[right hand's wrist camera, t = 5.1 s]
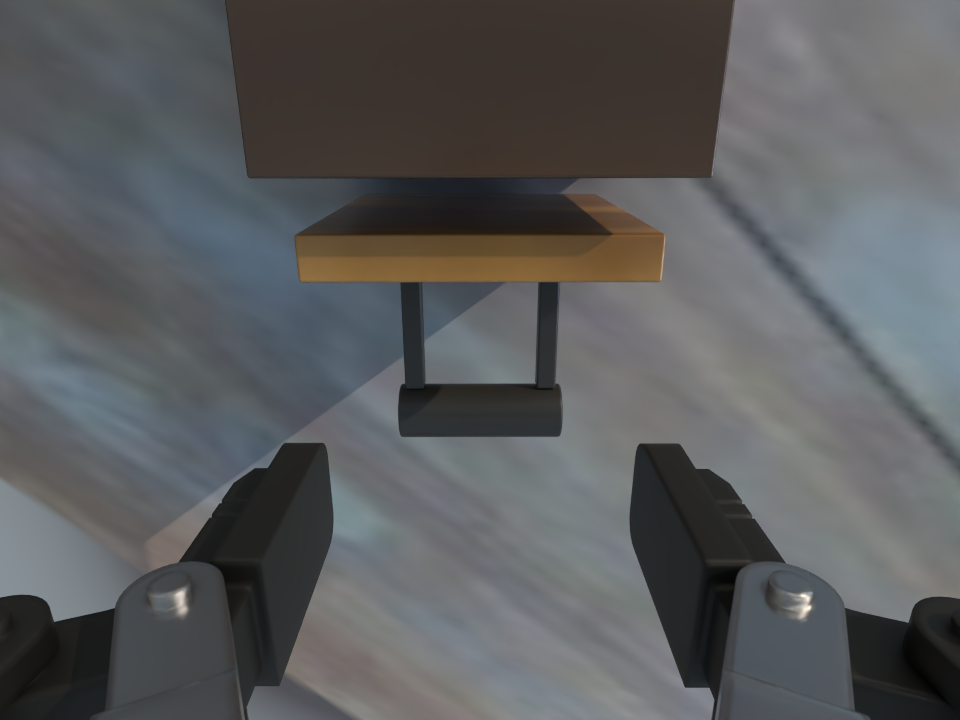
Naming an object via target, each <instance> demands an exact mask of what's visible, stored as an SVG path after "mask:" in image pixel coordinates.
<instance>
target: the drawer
mask: <svg viewBox="0 0 960 720" xmlns="http://www.w3.org/2000/svg"><path fill="white" fill-rule="evenodd" d="M294 238H295V247H296V257H297V266H298V276H299V281H300V282H401V302H402V323H403V344H404V365H405V384H402V385H401V387H400V392H399V403H398V421H399V431H400V434H401V436H402V437H558V436H560V434H561V429H562V394H561V388H560V385H559V384H555V378H556V356H557V334H558V312H559V289H560V282H660V281H661V279H662V271H663V261H664V252H665V242H666V235H665V234H663V233H662V232H660V231H658V230H656V229H655V228H653V227H651V226H650V225H648V224H646V223H644V222H643V221H641V220H639V219H637V218H636V217H634V216H632V215H631V214H629V213H627V212H625V211H624V210H622V209H620V208H618V207H617V206H615V205H613V204H611V203H610V202H608V201H606V200H605V199H603V198H601V197H599V196H598V195H596V194H517V195H363V196H361V197H360V198H358V199H356V200H355V201H353V202H351V203H349V204H348V205H346V206H344V207H343V208H341V209H339V210H337V211H336V212H334V213H332V214H330V215H329V216H327V217H325V218H324V219H322V220H320V221H318V222H317V223H315V224H313V225H312V226H310V227H308V228H306V229H305V230H303V231H301V232H299V233H298V234H296V235H295V237H294ZM422 282H538V313H537V343H536V374H535V382H536V384H425V352H424V324H423V295H422Z"/></svg>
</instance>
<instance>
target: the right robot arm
mask: <svg viewBox="0 0 960 720" xmlns="http://www.w3.org/2000/svg"><path fill="white" fill-rule="evenodd" d="M332 533H333V505H332V495H331V484H330V474H329V464H328V454H327V449H326V446H325V444H324V443H284V444H283V445H282V446H281V448H280V450H279V451H278V453H277V454H276V456H275V458H274V459H273V461H272V462H271V464H270V466H269V467H268V468H255V469H253V470H252V471H250V472H249V473H248V474H246V475H245V476H243V477H242V478H240V479H239V480H237V481H236V482H235V483H233V485H232V486H231V488H230V489H229V491H228V492H227V494H226V495H225V496H224V498H223V499H222V504H219V505H218V506H217V508H216V509H215V511H214V512H213V514H212V518H209V519H208V521H207V522H206V524H205V525H204V527H203V528H202V529H201V531H200V532H199V534H198V535H197V537H196V538H195V539H194V541H193V542H192V544H191V545H190V547H189V548H188V550H187V551H186V552H185V554H184V555H183V557H182V558H181V560H180V561H179V562H178V563H175V564H170V565H167V566H164V567H161V568H158V569H156V570H153V571H151V572H149V573H147V574H145V575H144V576H142V577H140V578H139V579H137V580H136V581H135V582H133V583H132V584H131V585H130V586H129V587H128V588H127V589H126V590H125V591H124V592H123V593H122V594H121V596H120V597H119V599H118V601H117V603H116V606H115V608H114V609H110V610H107V611H102V612H98V613H93V614H88V615H84V616H79V617H75V618H70V619H66V620H61V621H57V622H54V620H53V617H52V614H51V611H50V607H49V605H48V604H47V602H46V601H45V600H43V599H42V598H39V597H36V596H32V595H13V596H7V597H1V598H0V720H249V718H248V712H247V705H248V702H249V700H250V697H251V695H252V692H253V690H254V687H255V686H279V685H280V683H281V680H282V677H283V674H284V672H285V669H286V666H287V663H288V661H289V658H290V655H291V652H292V649H293V647H294V644H295V641H296V638H297V636H298V633H299V630H300V627H301V624H302V622H303V619H304V616H305V613H306V611H307V608H308V605H309V602H310V599H311V597H312V594H313V591H314V588H315V586H316V583H317V580H318V577H319V575H320V572H321V569H322V566H323V563H324V561H325V558H326V555H327V552H328V550H329V547H330V543H331V539H332ZM630 533H631V539H632V544H633V547H634V550H635V553H636V556H637V558H638V561H639V564H640V566H641V569H642V572H643V575H644V577H645V580H646V583H647V585H648V588H649V591H650V594H651V596H652V599H653V602H654V605H655V607H656V610H657V613H658V615H659V618H660V621H661V624H662V626H663V629H664V632H665V634H666V637H667V640H668V643H669V645H670V648H671V651H672V654H673V656H674V659H675V662H676V664H677V667H678V670H679V673H680V675H681V678H682V681H683V684H684V686H685V688H710V690H711V692H712V695H713V697H714V700H715V701H714V707H713V712H712V718H711V720H960V599H956V598H950V597H930V598H925V599H923V600H920V601H919V602H918V603H916V604H915V606H914V608H913V610H912V613H911V617H910V620H909V623H907V622H902V621H898V620H893V619H888V618H884V617H879V616H875V615H870V614H866V613H861V612H857V611H854V610H850V609H847V608H845V606H844V603H843V601H842V599H841V597H840V596H839V594H838V593H837V592H836V591H835V590H834V589H833V588H832V587H831V586H830V585H829V584H828V583H827V582H825V581H824V580H823V579H821V578H820V577H818V576H816V575H815V574H813V573H811V572H809V571H807V570H804V569H802V568H799V567H796V566H793V565H790V564H786V563H785V561H784V560H783V559H782V557H781V556H780V554H779V553H778V551H777V550H776V549H775V547H774V546H773V544H772V543H771V541H770V540H769V539H768V537H767V536H766V534H765V533H764V532H763V530H762V529H761V527H760V526H759V524H758V523H757V522H756V520H755V519H752V515H751V513H750V512H749V510H748V509H747V507H746V506H745V505H744V504H742V500H741V499H740V498H739V496H738V495H737V493H736V492H735V490H734V489H733V488H732V486H731V485H730V484H729V483H728V482H727V481H725V480H724V479H722V478H721V477H719V476H718V475H716V474H715V473H713V472H712V471H711V470H709V469H696V468H695V467H694V465H693V464H692V462H691V461H690V459H689V457H688V456H687V454H686V453H685V451H684V450H683V448H682V447H681V445H680V444H639V445H638V447H637V450H636V456H635V466H634V476H633V486H632V496H631V506H630Z"/></svg>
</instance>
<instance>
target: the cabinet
mask: <svg viewBox="0 0 960 720" xmlns="http://www.w3.org/2000/svg"><path fill="white" fill-rule="evenodd" d="M225 3H226V11H227V19H228V27H229V35H230V42H231V50H232V58H233V66H234V74H235V82H236V89H237V97H238V105H239V113H240V121H241V129H242V136H243V144H244V152H245V160H246V168H247V176H248V177H249V178H711V177H712V176H713V170H714V162H715V154H716V146H717V138H718V130H719V122H720V114H721V106H722V98H723V90H724V82H725V74H726V67H727V59H728V51H729V43H730V35H731V27H732V19H733V11H734V3H735V0H225Z"/></svg>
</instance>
